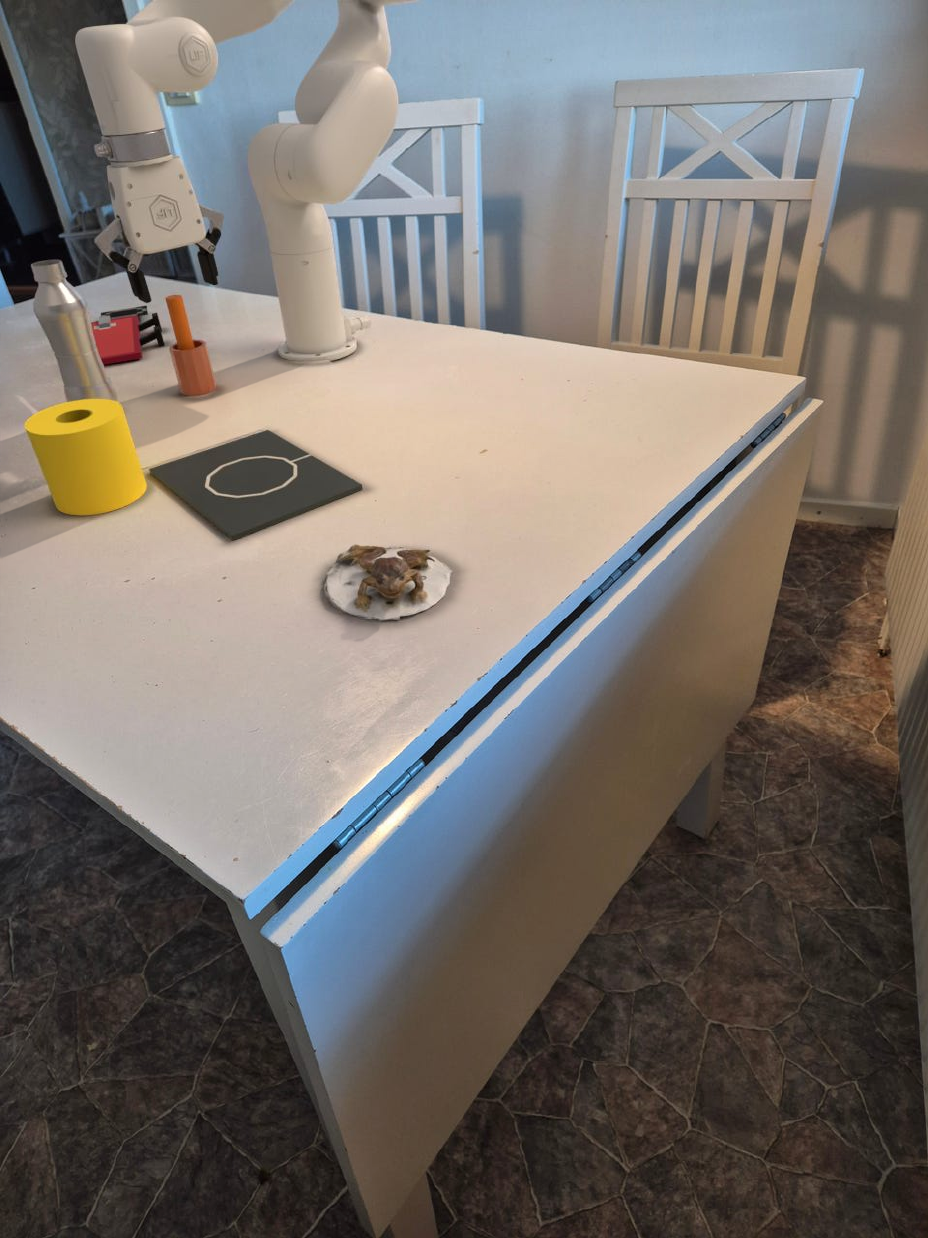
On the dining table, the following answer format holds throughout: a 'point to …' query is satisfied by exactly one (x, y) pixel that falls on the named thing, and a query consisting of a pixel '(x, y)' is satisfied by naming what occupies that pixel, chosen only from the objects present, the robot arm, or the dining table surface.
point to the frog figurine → (385, 582)
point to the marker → (180, 322)
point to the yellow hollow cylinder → (87, 456)
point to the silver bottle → (70, 334)
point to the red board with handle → (124, 334)
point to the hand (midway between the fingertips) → (179, 291)
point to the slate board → (253, 483)
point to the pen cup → (193, 369)
